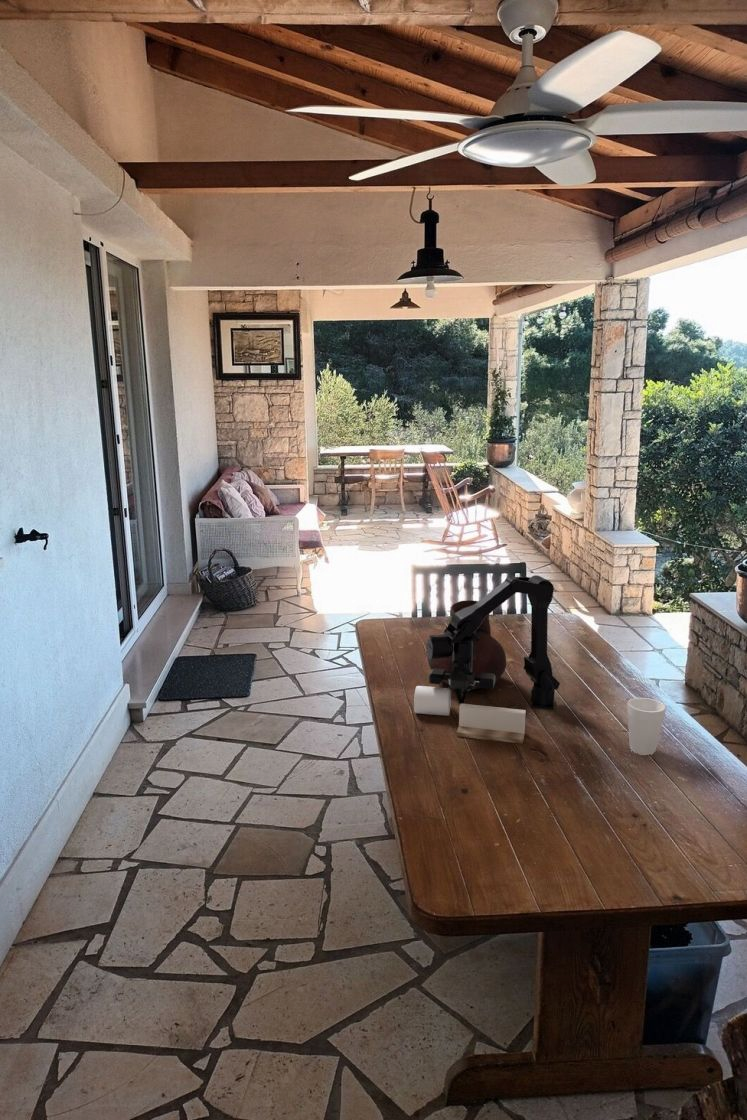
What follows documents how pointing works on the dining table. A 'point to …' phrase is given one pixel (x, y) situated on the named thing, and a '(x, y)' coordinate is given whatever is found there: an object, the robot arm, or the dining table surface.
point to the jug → (477, 650)
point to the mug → (432, 700)
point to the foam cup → (644, 724)
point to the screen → (491, 723)
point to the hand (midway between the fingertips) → (461, 705)
